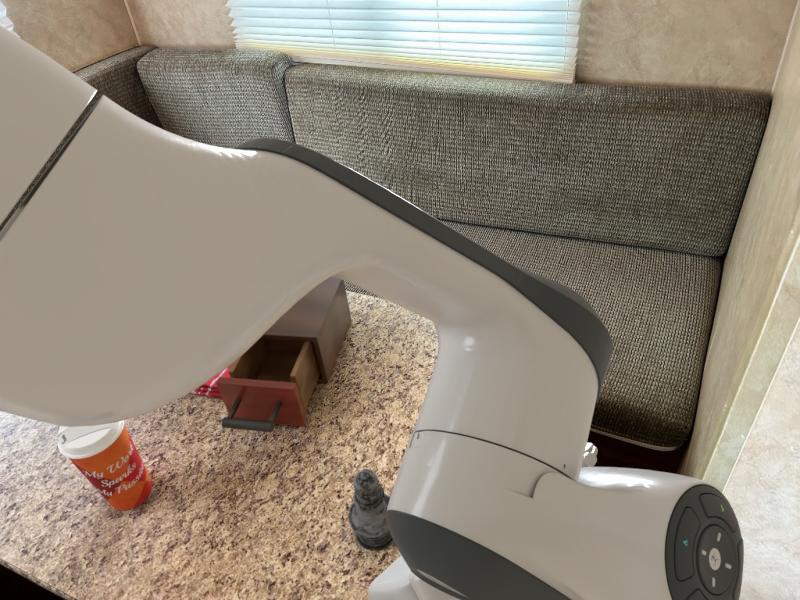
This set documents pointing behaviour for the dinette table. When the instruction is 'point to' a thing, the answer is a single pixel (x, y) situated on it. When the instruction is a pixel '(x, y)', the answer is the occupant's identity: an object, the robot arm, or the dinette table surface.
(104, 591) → the dinette table surface
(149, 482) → the paper cup
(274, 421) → the drawer
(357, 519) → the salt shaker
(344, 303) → the cabinet
